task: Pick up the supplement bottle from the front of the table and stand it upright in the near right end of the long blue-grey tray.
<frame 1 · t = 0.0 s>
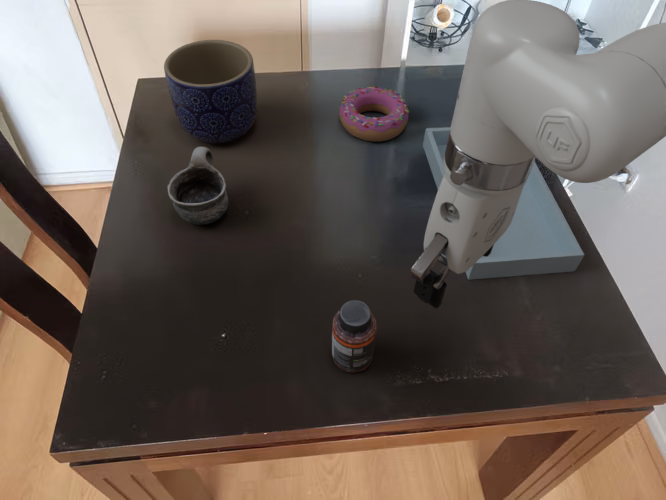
hand: (452, 273, 60), 22 cm above the table, tool pointing down, fingers open, 9 cm apart
donut: (373, 124, 113), on the table
supplement bottle: (352, 356, 77), on the table
planter: (220, 128, 111), on the table
blue-grey tray: (490, 202, 98), on the table
mug: (203, 208, 96), on the table
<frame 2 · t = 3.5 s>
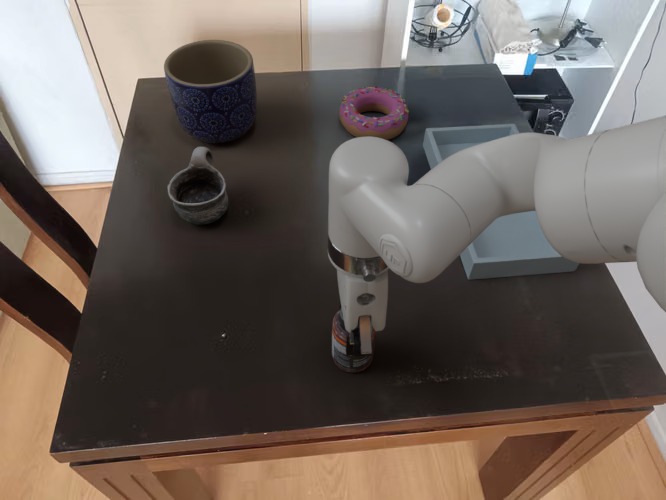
hand: (354, 330, 72), 7 cm above the table, tool pointing down, fingers closed on supplement bottle, 6 cm apart
supplement bottle: (352, 356, 77), on the table, touching gripper
everything else where it was.
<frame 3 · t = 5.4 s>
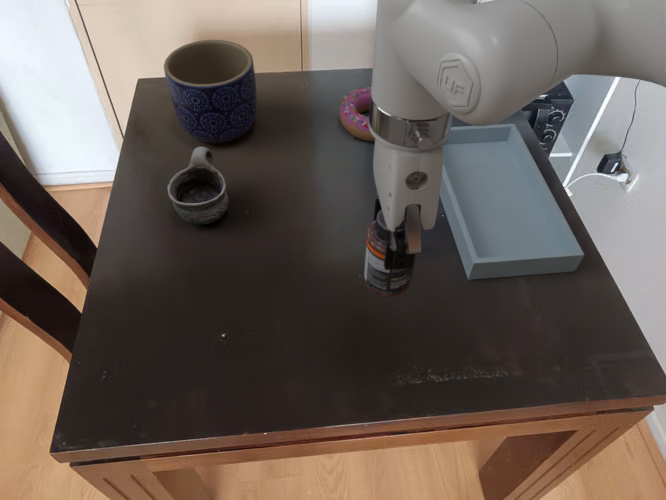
hand: (392, 243, 62), 22 cm above the table, tool pointing down, fingers closed on supplement bottle, 6 cm apart
supplement bottle: (386, 281, 67), point 15 cm above the table, touching gripper
everything else where it was.
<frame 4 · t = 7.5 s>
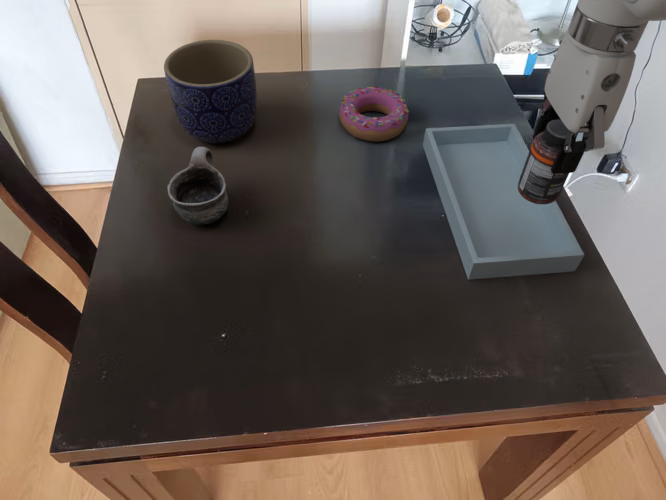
hand: (552, 154, 72), 22 cm above the table, tool pointing down, fingers closed on supplement bottle, 6 cm apart
supplement bottle: (536, 193, 78), point 15 cm above the table, touching gripper
everything else where it was.
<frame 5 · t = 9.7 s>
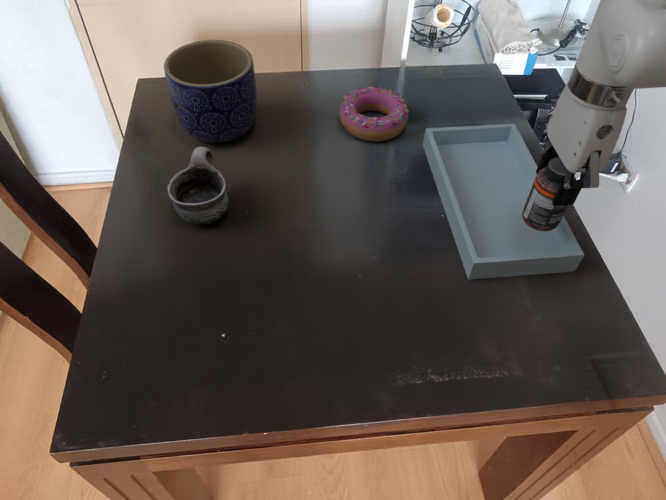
hand: (554, 187, 81), 14 cm above the table, tool pointing down, fingers closed on supplement bottle, 6 cm apart
supplement bottle: (539, 220, 86), point 6 cm above the table, touching gripper
everything else where it was.
when the fingers open (8 cm above the table, at t = 11.6 s): supplement bottle stays where it is, resting on blue-grey tray.
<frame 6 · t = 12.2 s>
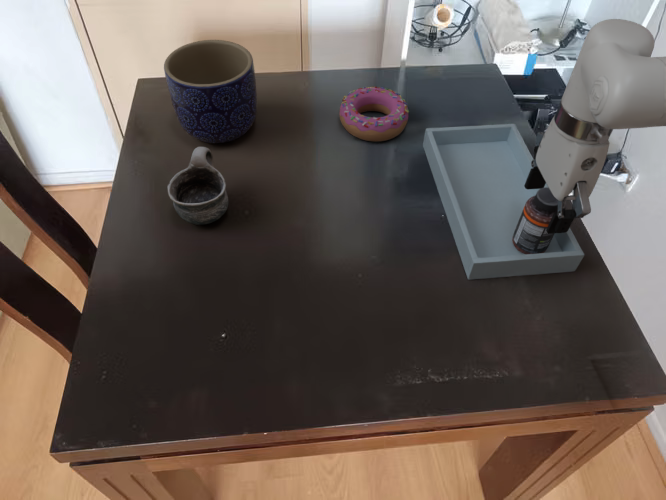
hand: (544, 208, 84), 9 cm above the table, tool pointing down, fingers open, 9 cm apart
supplement bottle: (528, 244, 91), point 1 cm above the table, touching blue-grey tray
everything else where it was.
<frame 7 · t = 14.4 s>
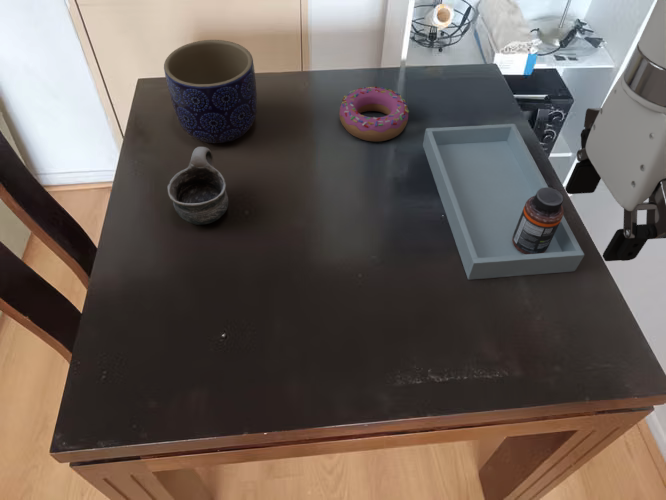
hand: (597, 223, 56), 28 cm above the table, tool pointing down, fingers open, 9 cm apart
nothing on the table moved.
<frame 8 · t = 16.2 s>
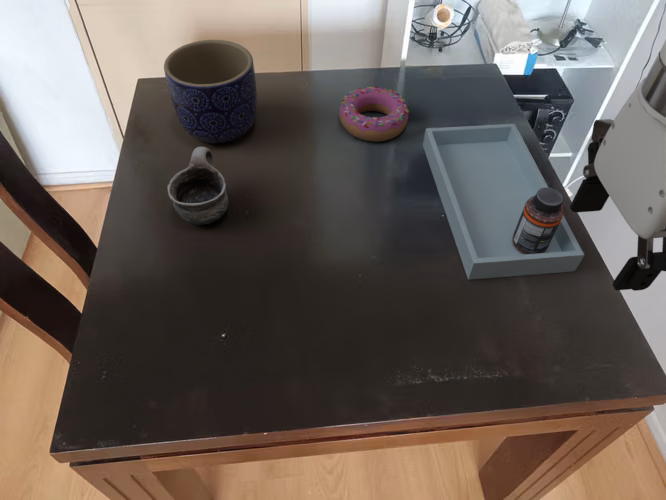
hand: (605, 245, 51), 30 cm above the table, tool pointing down, fingers open, 9 cm apart
nothing on the table moved.
at the end: supplement bottle inside the target area in the blue-grey tray (0.5 cm from its centre), point 0.6 cm above the blue-grey tray's base; supplement bottle tilted 0°; the gripper is holding nothing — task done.
